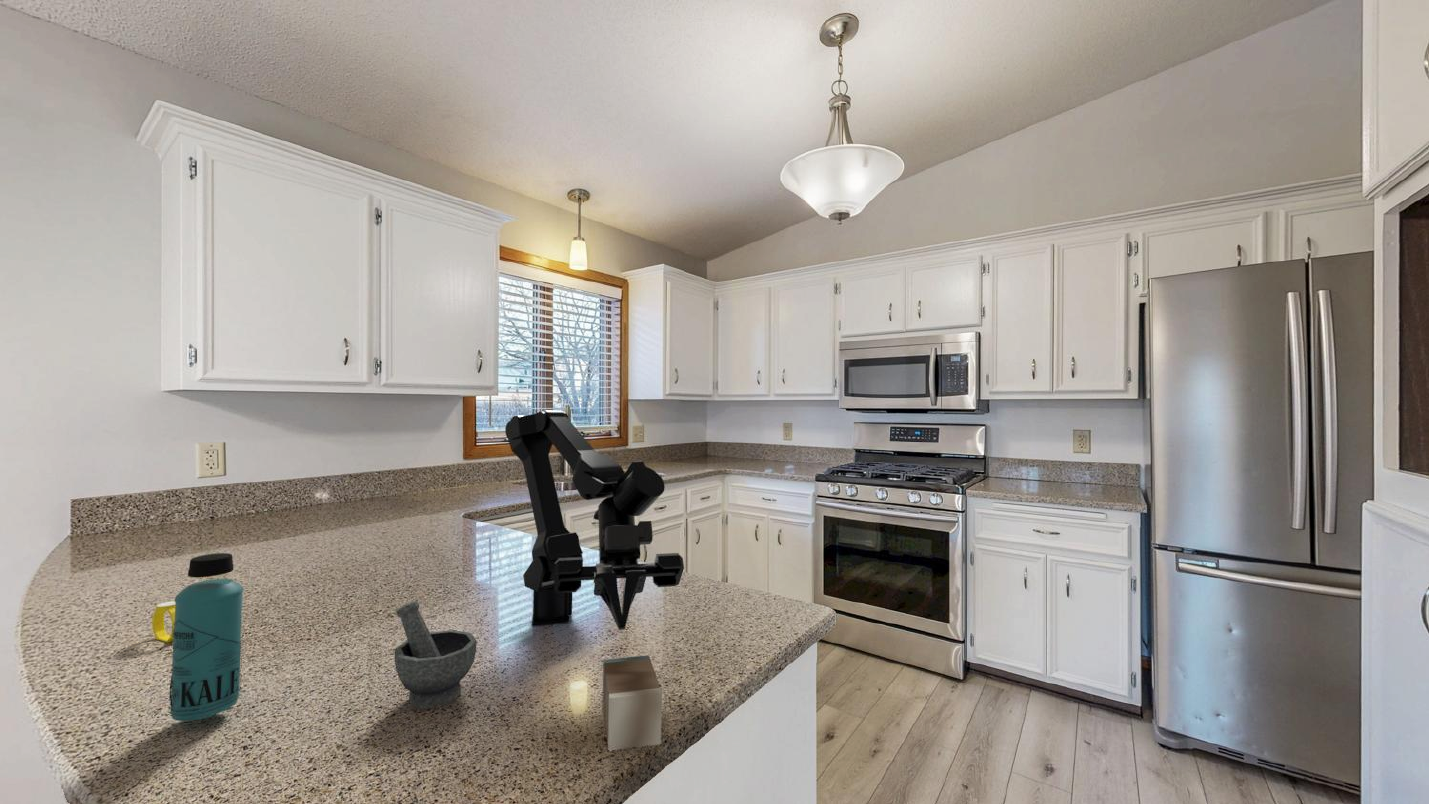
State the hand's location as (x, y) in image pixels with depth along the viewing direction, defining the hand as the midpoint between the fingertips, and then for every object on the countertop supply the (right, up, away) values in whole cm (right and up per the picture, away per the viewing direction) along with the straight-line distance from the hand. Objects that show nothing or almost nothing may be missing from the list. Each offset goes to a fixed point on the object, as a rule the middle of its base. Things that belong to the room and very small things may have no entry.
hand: (622, 628), depth 77 cm
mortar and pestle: (-25, -8, -3) cm, 27 cm away
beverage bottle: (-49, -7, -10) cm, 51 cm away
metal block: (+1, -5, -4) cm, 7 cm away
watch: (-76, -7, +13) cm, 78 cm away
